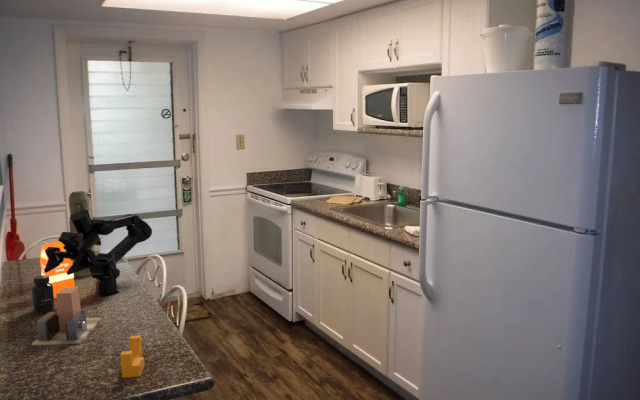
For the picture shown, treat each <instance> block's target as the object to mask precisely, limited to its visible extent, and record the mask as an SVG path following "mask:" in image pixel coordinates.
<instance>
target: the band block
mask: <svg viewBox="0 0 640 400" xmlns="http://www.w3.org/2000/svg"><path fill="white" fill-rule="evenodd" d="M86 315H87V314H86V310H81V311H77V312H76V313H75V314H74V315H73V316H72V317H71V318H70V319H69V320H67V323H66V324H65V328H66V339H67V340H78V339H79V337H80V336H81V335H82V334H83V333H84V332H85V331H86V330H87V323H86V318H87V316H86ZM36 329H37V338H38V340H39V341H50V340H51V339H52V338H53V337H54V336H55V335H56V334H57V333H58V332H59V331H60V326H59V316H58V311H50V312H47V313H45V314H44V315H43V316H42V317H41V318H39V320H37V321H36Z"/></svg>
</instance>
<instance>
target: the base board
mask: <svg viewBox="0 0 640 400" xmlns="http://www.w3.org/2000/svg"><path fill="white" fill-rule="evenodd" d="M102 320H103V319H102V317H92V318H91V317H88V318H87V317H86V323H87V330H86V331H85V332H84V333H83V334H82V335H81V336H80V337H79V339H78V340H67V339H66V330H63V331H59V332H58V333H57V334H56V335H55V336H54V337H53V338H52V339H51V340H50V341H39V340H38V337H37V338H36V339H35V340H34V341H33V342H31V346H53V345H59V346H60V345H79V344H82V342H83V341H84V340H85V339H86V338H87V336H88V335H89V334H90V333H91V332H92V331H94V329H95V328H96V327H97V326H98V324H99V323H100V322H101V321H102Z"/></svg>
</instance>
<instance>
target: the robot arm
mask: <svg viewBox="0 0 640 400" xmlns="http://www.w3.org/2000/svg"><path fill="white" fill-rule="evenodd" d="M89 213H90V212H89ZM89 213H88V210H82V211H80V212H77V213H75V214H72V215H71V214H70V215H71V216H70V215H69V221H70V220H71V222H72V224H73V226H74V228H75V230H76V232H77V233H76V234H75V233H72V232H70V231H62V232H61V234H60V236H59V238H58V241H60V242H61V243H63V244H64V245H65V246H64V247H63V248H64V250H66V252H65V251H61V250H60V248H58V247H48V248H47V249H46V250H45V253H46V255H47V256H48V262H47V264H46V267H45V269H44V272H45V273H47V272H49V271H51V270H52V269H54V268H56V267H58V266H59V265H60V263H62V262H63V261H64V258H68V259H71V260H72V264H73V265H72V266H71V267H70V268H69V269H68V271H67V272H66V273H67V275H70V274H72V273H75V272H78V271H81V270H84V269H87V268H89V270H90V272H91V275H92V276H91V277H92V279H96V282H95V294H97V295H99V296H100V297H103V298H104V297H108V296H111V295H114V294H119V293H120V290H118V286H117V279H118V278H119V277H120V274H121V271H120V269H119V268H117V264H118V262H119V261H120V260H122V259H123V258H124V257H125V256H126V254H128V252H130V251H131V250H132V249H133V248H134V247H135V246H137V244H139V243H143V242H146V241H147V240H149V239H150V238H151V237H152V234H153V228H152V227H151V226H150V225H149V223H147V221H145V220H143V219H141V217H139V215H138V214H130V213H129V214H125V215H120V216H116V217H112V218H108V219H107V218H105V219H102V218H99V219H98V218H92V217H91V215H90V216H89ZM90 217H91V218H90ZM91 219H92V220H91ZM121 228H125V229H126V231H127V235H126V236H125V237H124V238H123V239H121V241H119V243H118V244H116V245H115V246H114V247H113V248H111V250H109V251H108V252H107V253H101V252H99V253H98V254H96V253H95V250H94V249H93V250H90V249H91V248H92V247H93V248H94V246H102V239H101V237H100V236H108V235H110V234H112V233H113V232H114V230H117V229H121ZM58 241H57V242H58ZM73 261H75V262H74V263H73Z"/></svg>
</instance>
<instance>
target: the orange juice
mask: <svg viewBox="0 0 640 400" xmlns="http://www.w3.org/2000/svg"><path fill="white" fill-rule="evenodd" d="M64 246H65V245H64V244H63V243H61V242H60V241H53V242H47V243H43V244H42V245H41V250H40V255H39V261H40V263H39V264H40V273H41V275H48V276H49V280H50V281H49V283H51V284H52V285H53V291H54V299H57V297H56V293H58V292H59V291H60V290H61V289H63V288H64V287H76V286H75V279H74V278H75V276H74V273H72V274H70V275H67V273H66V272H67V271H68V269H69V268H70V267H71V266H72V265H73V261H72V260H71V259H68V258H64V261H63V262H62V263H60V265H59V266H58V267H56V268H54V269H52V270H51V271H49V272H47V273H45V272H44V269H45V267H46V264H47V262H48V256H47V255H46V253H45V250H46V249H47V248H48V247H58V248H60V250H61V251H65V252H66V250H64V248H63V247H64ZM41 275H40V276H41Z"/></svg>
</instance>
